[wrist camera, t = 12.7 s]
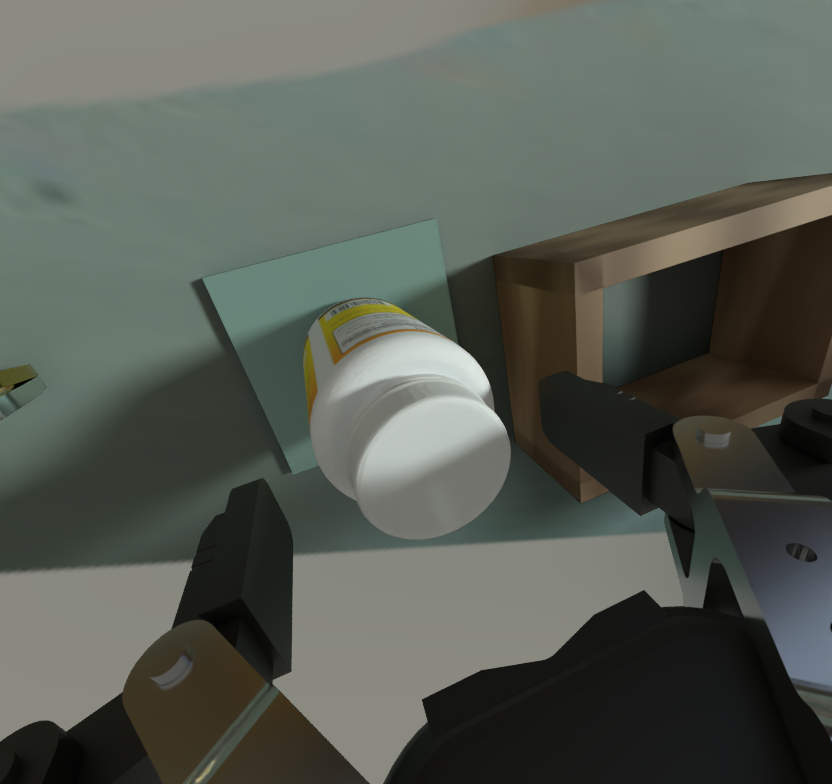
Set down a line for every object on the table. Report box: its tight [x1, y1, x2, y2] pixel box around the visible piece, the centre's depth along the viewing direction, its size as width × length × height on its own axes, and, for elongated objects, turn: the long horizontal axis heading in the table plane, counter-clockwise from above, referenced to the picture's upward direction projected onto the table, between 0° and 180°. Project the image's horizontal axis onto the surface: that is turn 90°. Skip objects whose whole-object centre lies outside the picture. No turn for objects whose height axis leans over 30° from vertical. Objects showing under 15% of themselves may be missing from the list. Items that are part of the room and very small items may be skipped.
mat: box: [202, 218, 458, 475], centre depth 18 cm, size 10×10×1 cm
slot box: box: [493, 173, 832, 503], centre depth 20 cm, size 16×11×6 cm
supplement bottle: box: [303, 297, 511, 540], centre depth 13 cm, size 6×6×10 cm
